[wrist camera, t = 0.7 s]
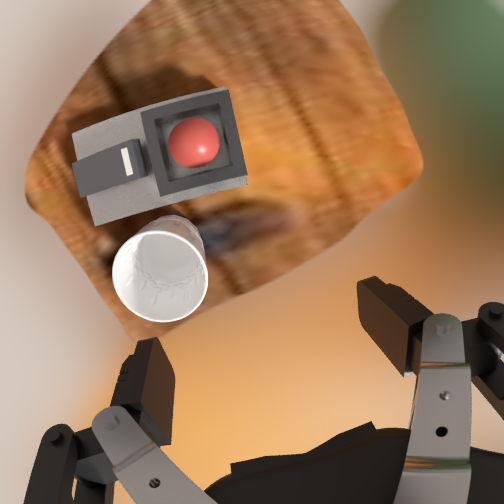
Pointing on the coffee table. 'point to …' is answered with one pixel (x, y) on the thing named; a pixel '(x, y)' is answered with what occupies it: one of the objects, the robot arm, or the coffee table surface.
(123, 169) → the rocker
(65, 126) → the coffee table surface
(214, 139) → the button
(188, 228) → the white cup
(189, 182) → the grey switch box
